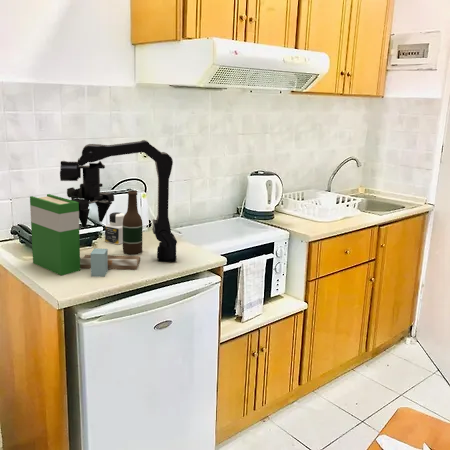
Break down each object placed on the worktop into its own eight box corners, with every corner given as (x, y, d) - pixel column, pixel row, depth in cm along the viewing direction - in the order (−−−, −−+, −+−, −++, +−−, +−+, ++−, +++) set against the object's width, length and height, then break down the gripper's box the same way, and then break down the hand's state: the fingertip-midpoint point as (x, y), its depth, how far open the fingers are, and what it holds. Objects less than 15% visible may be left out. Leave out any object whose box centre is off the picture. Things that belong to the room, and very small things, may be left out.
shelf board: (140, 260, 189) (140, 251, 188) (136, 270, 178) (136, 260, 177) (85, 258, 187) (85, 249, 187) (78, 268, 176) (78, 259, 176)
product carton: (107, 270, 176) (107, 248, 174) (104, 276, 170) (104, 254, 168) (94, 270, 176) (93, 248, 174) (90, 276, 170) (90, 253, 168)
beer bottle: (144, 249, 201) (145, 190, 195) (139, 255, 194) (139, 193, 188) (125, 248, 202) (125, 188, 196) (119, 254, 194) (119, 192, 188)
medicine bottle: (104, 242, 209) (104, 213, 206) (116, 238, 215) (115, 210, 212) (118, 245, 206) (118, 216, 203) (129, 241, 212) (129, 213, 209)
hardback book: (32, 263, 180) (29, 196, 174) (51, 258, 186) (49, 194, 180) (61, 275, 169) (58, 205, 164) (80, 270, 175) (78, 202, 169)
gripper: (89, 175, 189) (91, 216, 193) (54, 182, 172) (56, 226, 176) (114, 178, 184) (115, 220, 188) (80, 185, 168) (82, 231, 172)
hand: (92, 224), depth 181 cm, fingers open, 9 cm apart
